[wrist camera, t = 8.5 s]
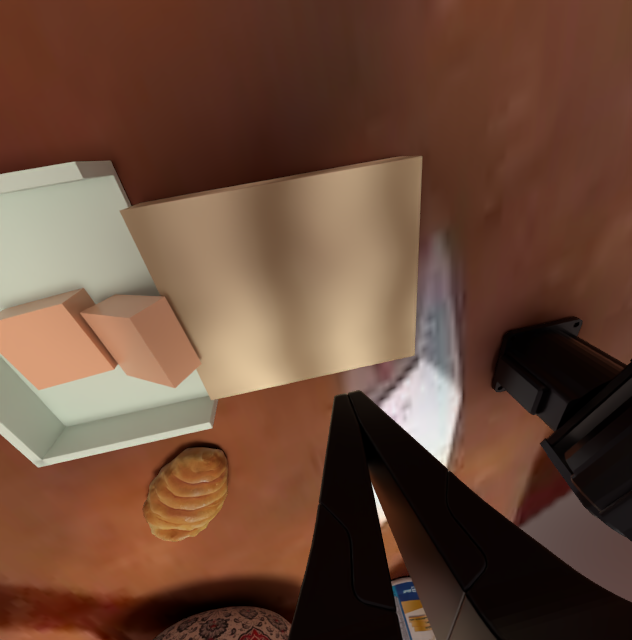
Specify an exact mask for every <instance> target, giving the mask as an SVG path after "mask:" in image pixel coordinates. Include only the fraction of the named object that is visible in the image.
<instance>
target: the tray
mask: <svg viewBox="0 0 632 640" xmlns="http://www.w3.org/2000/svg"><path fill="white" fill-rule="evenodd" d="M128 207H131V204H130V201H129V199H128V197H127V195H126V193H125V191H124V188H123V186H122V184H121V182H120V180H119V177H118V175H117V173H116V171H115V169H114V167H113V164H112V162H111V161H78V162H69V163H63V164H57V165H52V166H46V167H40V168H34V169H28V170H22V171H16V172H10V173H4V174H0V311H2V310H4V309H6V308H10V307H14V306H17V305H21V304H25V303H28V302H32V301H36V300H40V299H43V298H47V297H51V296H55V295H58V294H62V293H66V292H69V291H73V290H77V289H81V288H84V289H85V290H86V292H87V293H88V294H89V296H90V297H91V299H92V300H93V301H94V303H95V304H98V303H100V302H101V301H103V300H105V299H107V298H109V297H111V296H113V295H115V294H118V295H141V296H160V294H159V292H158V290H157V287H156V285H155V283H154V281H153V279H152V277H151V275H150V273H149V271H148V269H147V267H146V265H145V263H144V261H143V259H142V257H141V254H140V252H139V250H138V248H137V246H136V244H135V242H134V240H133V238H132V236H131V234H130V232H129V230H128V228H127V226H126V223H125V221H124V219H123V217H122V215H121V213H120V210H123V209H125V208H128ZM217 403H218V399H215V400H211V399H210V397H209V395H208V393H207V391H206V389H205V387H204V385H203V382H202V380H201V378H200V376H199V374H198V372H197V370H196V369H195V370H194V371H193V372H192V373H191V374H190V375H189V376H188V377H187V378H186V379H185V380H184V381H182V382H181V383H180V384H179V385H178V386H177V387H176V388H172V387H168V386H165V385H161V384H157V383H154V382H150V381H146V380H143V379H139V378H135V377H132V376H128V375H126V374H125V372H124V371H123V370H122V368H121V367H120V366H119V364H118V365H117V366H116V368H115V369H114V370H111V371H107V372H104V373H100V374H96V375H93V376H89V377H85V378H82V379H78V380H74V381H71V382H67V383H63V384H60V385H56V386H52V387H49V388H45V389H42V390H38V389H37V388H36V387H35V386H34V385H33V384H32V383H31V382H30V381H28V380H27V379H26V378H25V377H24V376H23V375H22V374H21V373H20V372H19V371H18V370H17V369H16V368H15V367H14V366H13V365H12V364H11V363H10V362H9V361H8V360H7V359H6V358H5V357H4V356H3V355H2V354H1V353H0V434H1V435H2V436H3V437H4V438H6V439H7V440H8V441H9V442H10V443H11V444H12V445H13V446H15V447H16V448H17V449H18V450H19V451H20V452H21V453H22V454H24V455H25V456H26V457H27V458H28V459H29V460H30V461H32V462H33V463H34V464H35V465H36V466H37V467H42V466H47V465H51V464H56V463H60V462H64V461H69V460H73V459H78V458H82V457H86V456H91V455H95V454H100V453H104V452H109V451H113V450H117V449H122V448H126V447H131V446H135V445H140V444H144V443H148V442H153V441H157V440H162V439H166V438H170V437H175V436H179V435H184V434H188V433H193V432H197V431H201V430H206V429H210V428H213V423H214V418H215V413H216V408H217Z"/></svg>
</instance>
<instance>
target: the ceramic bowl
mask: <svg viewBox="0 0 632 640" xmlns="http://www.w3.org/2000/svg"><path fill="white" fill-rule="evenodd" d="M290 628H291V624H290V623H289V622H288V621H287V620H286V619H285V618H283V617H282V616H280V615H279V614H277V613H275V612H273V611H270V610H267V609H263V608H258V607H249V606H236V607H225V608H218V609H214V610H209V611H205V612H202V613H199V614H196V615H193V616H190V617H188V618H186V619H183V620H181V621H179V622H177V623H175V624H174V625H172V626H170V627H169V628H167V629H166V630H164V631H163V632H162V633H160V634H159V635H158V636H157V637H156V638H155V639H153V640H287V639H288V636H289V632H290Z"/></svg>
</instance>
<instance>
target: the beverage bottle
mask: <svg viewBox="0 0 632 640" xmlns="http://www.w3.org/2000/svg"><path fill="white" fill-rule="evenodd" d="M391 583H392V588H393V593H394V598H395V603H396V608H397V615H398V618H399V623H400V628H401V633H402V638H403V640H436V638H435V635H434V633H433V631H432V628H431V626H430V623H429V621H428V618H427V616H426V614H425V611H424V609H423V606H422V604H421V601H420V599H419V596H418V594H417V592H416V589H415V587H414V584H413V582H412V579H411V577H405V578H400V579H396V580H393V581H391Z"/></svg>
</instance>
